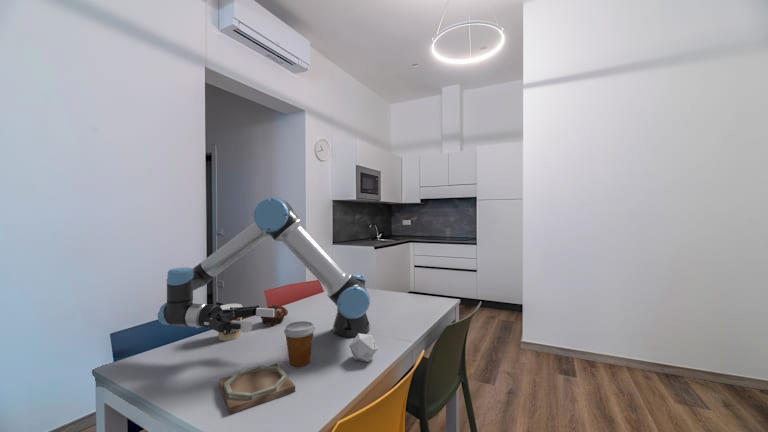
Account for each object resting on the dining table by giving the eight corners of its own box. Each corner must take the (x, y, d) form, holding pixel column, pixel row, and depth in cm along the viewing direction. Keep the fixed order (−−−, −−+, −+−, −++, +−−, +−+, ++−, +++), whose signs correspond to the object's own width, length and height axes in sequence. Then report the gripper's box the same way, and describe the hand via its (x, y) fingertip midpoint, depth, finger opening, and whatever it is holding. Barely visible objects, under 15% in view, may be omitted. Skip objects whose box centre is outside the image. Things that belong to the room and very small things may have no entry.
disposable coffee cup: (306, 371, 93) (306, 332, 93) (278, 368, 95) (278, 330, 95) (319, 357, 102) (319, 321, 102) (293, 355, 104) (293, 320, 104)
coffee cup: (219, 343, 114) (219, 311, 114) (213, 336, 121) (213, 306, 121) (245, 337, 120) (245, 306, 120) (238, 330, 127) (238, 302, 127)
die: (359, 370, 95) (377, 343, 96) (340, 351, 99) (358, 326, 100) (368, 368, 102) (385, 343, 103) (350, 350, 106) (367, 327, 107)
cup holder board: (276, 368, 95) (276, 360, 95) (295, 391, 82) (295, 382, 82) (218, 385, 86) (218, 376, 86) (229, 414, 73) (229, 403, 73)
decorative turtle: (252, 327, 131) (252, 308, 132) (277, 319, 145) (277, 302, 146) (270, 329, 128) (270, 309, 128) (293, 320, 141) (293, 303, 142)
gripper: (229, 315, 116) (281, 318, 112) (174, 341, 91) (239, 346, 88) (229, 295, 116) (281, 298, 113) (174, 316, 91) (240, 320, 88)
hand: (263, 319), depth 100 cm, fingers open, 13 cm apart
